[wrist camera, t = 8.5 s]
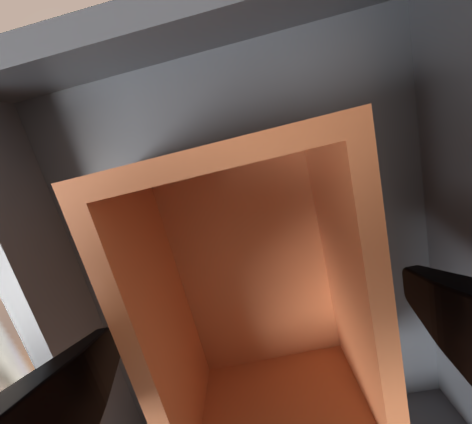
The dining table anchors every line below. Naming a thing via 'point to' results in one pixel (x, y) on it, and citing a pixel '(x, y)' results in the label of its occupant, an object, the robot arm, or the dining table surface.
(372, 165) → the small crate
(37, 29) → the big crate
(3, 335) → the dining table surface
